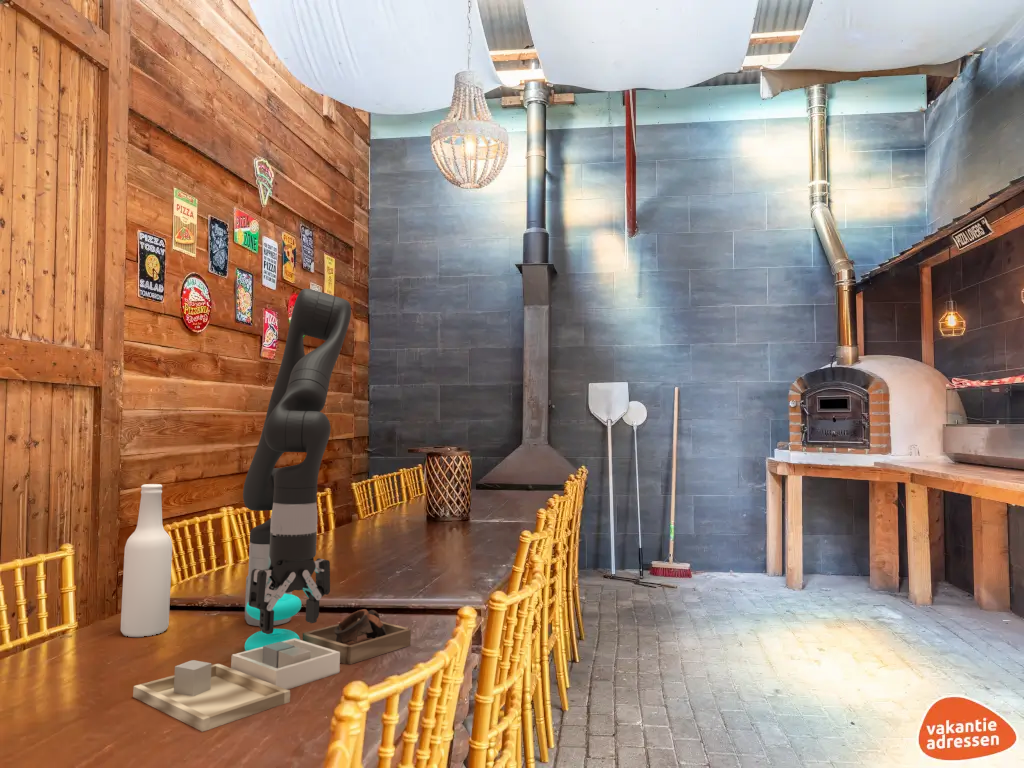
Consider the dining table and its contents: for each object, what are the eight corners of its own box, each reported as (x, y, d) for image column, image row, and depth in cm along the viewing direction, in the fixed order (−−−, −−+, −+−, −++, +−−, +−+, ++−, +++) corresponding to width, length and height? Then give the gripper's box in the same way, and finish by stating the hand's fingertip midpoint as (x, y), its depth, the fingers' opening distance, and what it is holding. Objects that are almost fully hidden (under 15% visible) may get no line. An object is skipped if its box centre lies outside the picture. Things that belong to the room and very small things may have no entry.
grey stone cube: (173, 692, 111) (174, 666, 112) (191, 685, 115) (192, 659, 115) (193, 696, 110) (194, 669, 110) (210, 689, 113) (211, 663, 113)
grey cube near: (277, 675, 119) (278, 651, 120) (295, 670, 122) (296, 646, 122) (291, 681, 117) (292, 656, 117) (309, 675, 119) (310, 651, 120)
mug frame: (300, 649, 136) (300, 633, 136) (364, 631, 149) (364, 617, 149) (348, 665, 128) (348, 647, 128) (412, 644, 140) (412, 629, 141)
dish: (230, 679, 120) (231, 654, 120) (294, 660, 130) (295, 638, 130) (275, 697, 112) (276, 670, 112) (339, 675, 122) (340, 652, 122)
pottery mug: (387, 659, 133) (365, 622, 132) (343, 678, 134) (322, 642, 133) (400, 625, 145) (381, 591, 144) (360, 643, 146) (340, 610, 145)
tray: (132, 700, 109) (133, 686, 110) (217, 676, 121) (218, 663, 121) (202, 735, 97) (203, 719, 98) (289, 705, 108) (290, 690, 109)
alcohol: (126, 640, 140) (134, 486, 142) (115, 630, 147) (123, 484, 149) (174, 632, 146) (180, 485, 148) (161, 623, 153) (168, 482, 155)
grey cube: (262, 670, 122) (263, 646, 122) (280, 664, 125) (280, 641, 125) (275, 675, 119) (276, 650, 120) (293, 669, 122) (294, 646, 123)
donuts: (304, 601, 133) (247, 606, 129) (303, 656, 132) (245, 662, 128) (298, 590, 142) (245, 594, 138) (296, 641, 141) (243, 647, 137)
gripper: (315, 523, 128) (311, 615, 127) (242, 531, 117) (238, 632, 116) (342, 527, 123) (338, 623, 122) (269, 536, 112) (264, 641, 111)
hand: (289, 627), depth 119 cm, fingers open, 8 cm apart
